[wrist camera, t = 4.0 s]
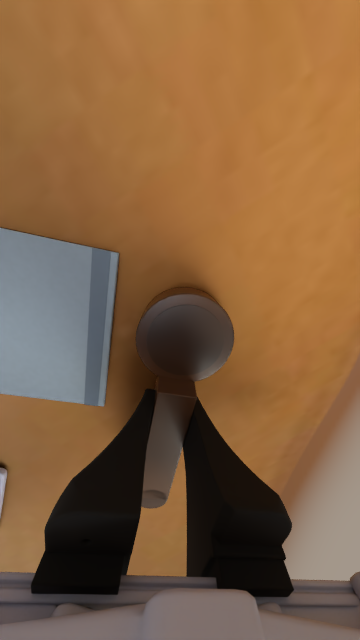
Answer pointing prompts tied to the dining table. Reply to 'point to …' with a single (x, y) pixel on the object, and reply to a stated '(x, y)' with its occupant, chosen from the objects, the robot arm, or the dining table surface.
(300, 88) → the dining table surface
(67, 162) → the dining table surface
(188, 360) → the spoon
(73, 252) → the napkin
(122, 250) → the dining table surface
